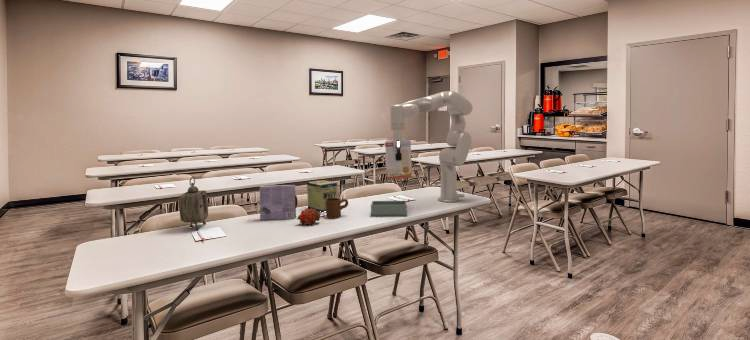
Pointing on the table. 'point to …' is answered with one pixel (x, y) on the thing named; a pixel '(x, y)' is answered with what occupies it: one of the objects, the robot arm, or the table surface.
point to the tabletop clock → (193, 205)
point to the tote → (389, 208)
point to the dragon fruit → (309, 216)
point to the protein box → (320, 194)
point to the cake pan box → (278, 202)
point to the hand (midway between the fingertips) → (398, 159)
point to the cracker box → (398, 167)
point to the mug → (335, 207)
